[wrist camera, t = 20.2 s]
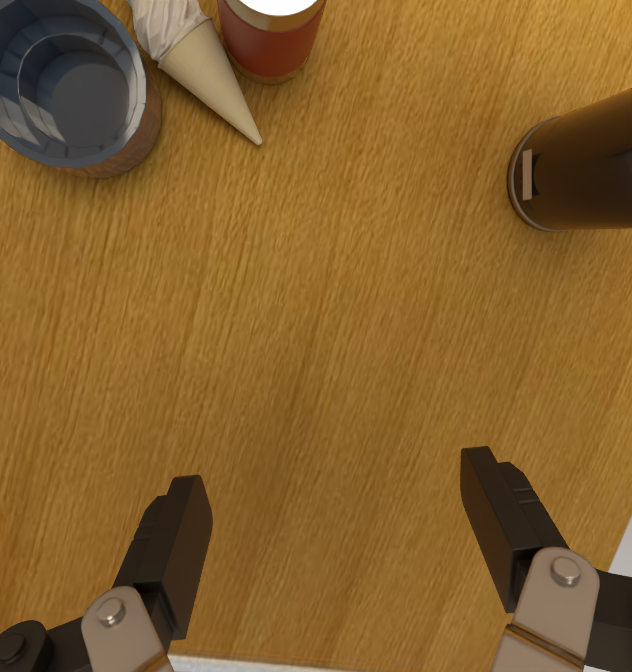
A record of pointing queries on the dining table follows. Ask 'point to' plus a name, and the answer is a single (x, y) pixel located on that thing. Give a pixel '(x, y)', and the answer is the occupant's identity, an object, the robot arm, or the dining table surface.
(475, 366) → the dining table surface
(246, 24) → the tin can
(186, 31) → the ice cream cone
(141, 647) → the robot arm
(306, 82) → the dining table surface
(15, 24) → the bowl
